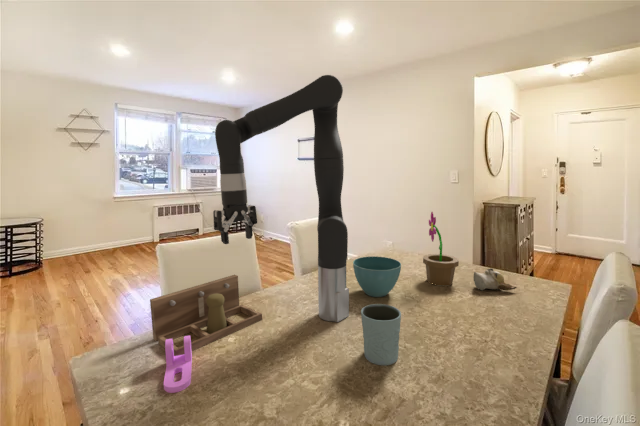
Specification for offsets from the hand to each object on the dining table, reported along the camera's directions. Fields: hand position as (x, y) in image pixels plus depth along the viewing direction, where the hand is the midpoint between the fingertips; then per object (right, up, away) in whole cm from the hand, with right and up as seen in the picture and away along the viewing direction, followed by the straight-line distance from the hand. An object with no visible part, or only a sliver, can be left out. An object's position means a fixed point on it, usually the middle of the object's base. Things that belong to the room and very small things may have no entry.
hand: (237, 241), depth 100 cm
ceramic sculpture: (+94, -22, +29) cm, 101 cm away
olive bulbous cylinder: (-6, -27, -2) cm, 28 cm away
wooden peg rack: (-8, -27, -2) cm, 28 cm away
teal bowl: (+48, -23, +25) cm, 58 cm away
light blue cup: (+41, -28, -16) cm, 53 cm away
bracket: (-8, -30, -23) cm, 39 cm away
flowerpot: (+77, -21, +37) cm, 88 cm away
